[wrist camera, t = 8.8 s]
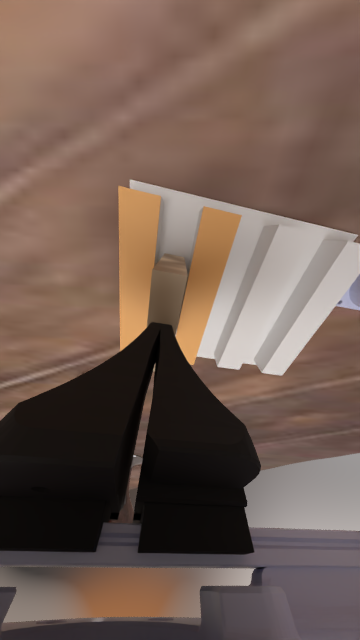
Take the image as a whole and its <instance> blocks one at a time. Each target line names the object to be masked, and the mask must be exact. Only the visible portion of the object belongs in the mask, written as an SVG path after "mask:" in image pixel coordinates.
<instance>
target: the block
mask: <svg viewBox="0 0 360 640" xmlns="http://www.w3.org/2000/svg"><path fill="white" fill-rule="evenodd" d="M187 277H188V275H187V269H186V264H185V258H184V257H181V256H176V255H171V254H166V253H165V254H164V255H163V256H162V258H161V259H160V260H159V261H158V263H157V264H156V265H155V266H154V268H153V269H152V277H151V288H150V298H149V309H148V320H147V327H148V325H149V324H150V323H151V322H156V323H162V324H169V325H172V327H173V331H174V334H176V329H177V325H178V320H179V315H180V311H181V306H182V301H183V296H184V292H185V287H186V282H187ZM153 371H155V365H154V369H153Z"/></svg>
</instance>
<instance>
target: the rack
mask: <svg viewBox="0 0 360 640" xmlns="http://www.w3.org/2000/svg"><path fill="white" fill-rule="evenodd" d="M357 236H358V235H356V234H352V233H348V232H344V231H340V230H336V229H331V228H327V227H323V226H319V225H315V224H311V223H307V222H303V221H299V220H295V219H290V218H286V217H282V216H278V215H274V214H270V213H266V212H262V211H258V210H253V209H249V208H245V207H241V206H237V205H233V204H229V203H225V202H221V201H216V200H212V199H208V198H204V197H200V196H196V195H192V194H188V193H184V192H180V191H175V190H171V189H167V188H163V187H159V186H155V185H151V184H147V183H143V182H138V181H134V180H130V188H125V187H121V186H119V278H120V351H121V350H123V349H124V348H125V347H126V346H128V345H129V344H130V343H131V342H132V341H134V340H135V339H136V338H137V337H138V336H139V335H140V334H141V333H142V332H143V331H144V330H145V329H146V328H147V320H148V309H149V298H150V288H151V277H152V269H153V268H154V266H155V265H156V264H157V263H158V261H159V260H160V259H161V258H162V256H163V255H164V254H165V253H166V254H171V255H176V256H181V257H184V258H185V264H186V269H187V275H188V277H187V282H186V287H185V292H184V296H183V301H182V306H181V311H180V315H179V320H178V325H177V329H176V334H175V337H176V339H177V342H178V344H179V346H180V348H181V350H182V352H183V354H184V356H185V357H186V359H187V361H188V362H189V364H193V365H194V362H195V359H196V356H197V357H204V358H211V359H215V360H216V364H217V367H223V368H231V369H238V370H239V369H240V367H241V365H242V363H247V364H254V365H257V366H258V368H259V369H260V371H261V373H267V374H274V375H281V376H282V375H283V374H284V372H285V371H286V370H287V368H288V367H289V366H290V365H291V363H292V362H293V361H294V359H295V358H296V357H297V355H298V354H299V353H300V351H301V350H302V349H303V348H304V346H305V345H306V344H307V342H308V341H309V340H310V338H311V337H312V336H313V335H314V333H315V332H316V331H317V329H318V328H319V327H320V325H321V324H322V323H323V321H324V320H325V319H326V318H327V316H328V315H329V314H330V312H331V311H332V310H333V308H334V307H335V306H336V304H337V303H338V302H339V301H340V299H341V298H342V297H343V295H344V294H345V293H346V291H347V290H348V289H349V288H350V286H351V285H352V284H353V282H354V281H355V280H356V278H357V277H358V276H359V274H360V244H359V243H354V240H355V239H356V237H357Z"/></svg>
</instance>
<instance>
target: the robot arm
mask: <svg viewBox="0 0 360 640" xmlns="http://www.w3.org/2000/svg"><path fill="white" fill-rule="evenodd" d="M336 306H339V307H345V308H350V309H355V310H360V274H359V276H358V277H357V278H356V280H355V281H354V282H353V284H352V285H351V286H350V288H349V289H348V290H347V291H346V293H345V294H344V295H343V297H342V298H341V299H340V301H339V302H338V303H337V304H336ZM154 365H155V375H154V388H153V399H152V405H151V411H150V417H149V423H148V429H147V435H146V441H145V447H144V454H143V460H142V466H141V472H140V478H139V484H138V491H137V497H136V503H135V510H134V516H133V522H132V523H109V520H118V517H119V512H120V511H121V510H122V508H123V507H124V502H125V497H126V492H127V486H128V481H129V476H130V471H131V466H132V460H133V455H134V450H135V445H136V440H137V435H138V430H139V425H140V420H141V415H142V410H143V405H144V400H145V396H146V393H147V389H148V386H149V383H150V379H151V376H152V372H153V369H154ZM260 469H261V464H260V461H259V459H258V456H257V453H256V450H255V447H254V445H253V442H252V440H251V437H250V435H249V433H248V431H247V428H246V426H245V425H244V424H243V423H242V422H241V421H240V420H239V419H238V418H237V417H236V416H235V415H234V414H232V413H231V412H230V411H229V410H228V409H227V408H226V407H225V406H224V405H223V404H222V403H221V402H220V401H219V400H218V399H217V398H216V397H215V396H214V395H213V394H212V393H211V391H210V390H209V389H208V388H207V387H206V385H205V384H204V383H203V382H202V381H201V379H200V378H199V377H198V376H197V374H196V373H195V371H194V370H193V369H192V367H191V366H190V364H189V362H188V361H187V359H186V357H185V356H184V354H183V352H182V350H181V348H180V346H179V344H178V342H177V339H176V337H175V334H174V331H173V327H172V325H169V324H162V323H156V322H151V323H150V324H149V325H148V327H147V328H146V329H145V330H144V331H143V332H142V333H141V334H140V335H139V336H138V337H137V338H136V339H135V340H134V341H132V342H131V343H130V344H129V345H128V346H126V347H125V348H124V349H123V350H121V351H120V352H119V353H117V354H116V355H114V356H113V357H111V358H110V359H108V360H107V361H105V362H104V363H102V364H100V365H99V366H97V367H95V368H94V369H92V370H90V371H88V372H86V373H84V374H83V375H81V376H79V377H77V378H75V379H73V380H71V381H69V382H67V383H64V384H62V385H60V386H58V387H56V388H53V389H51V390H49V391H46V392H44V393H42V394H39V395H37V396H35V397H32V398H30V399H28V400H25V401H23V402H20V403H18V404H17V405H16V406H15V407H14V408H13V409H12V410H11V411H10V412H9V413H8V414H7V415H6V416H5V417H4V418H3V419H2V420H1V421H0V567H132V568H134V567H136V568H139V567H143V568H145V567H146V568H256V569H254V571H253V573H252V580H251V584H250V585H249V586H202V587H201V589H200V603H201V618H177V617H176V618H174V617H102V618H77V619H60V620H43V621H26V622H10V623H3V620H4V618H5V616H6V614H7V611H8V609H9V607H10V605H11V603H12V601H13V598H14V596H15V594H16V587H0V640H360V531H343V530H312V529H283V528H281V529H280V528H254V527H253V528H251V527H248V522H247V518H246V514H245V509H244V507H246V506H247V500H246V496H245V492H244V488H243V487H245V486H246V485H247V484H248V483H250V482H251V481H252V480H253V479H255V478H256V476H257V475H258V474H259V472H260Z"/></svg>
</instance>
